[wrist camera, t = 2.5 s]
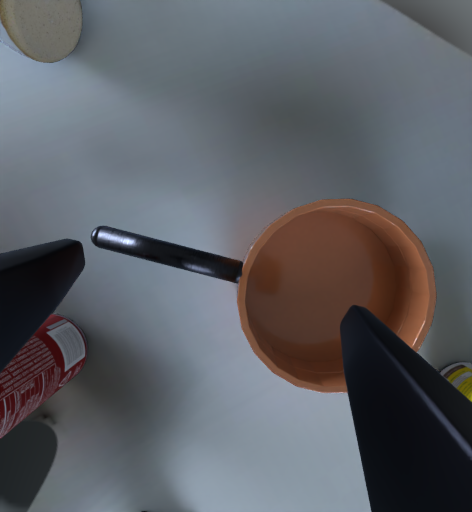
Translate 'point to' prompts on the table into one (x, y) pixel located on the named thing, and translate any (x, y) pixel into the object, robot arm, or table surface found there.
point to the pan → (331, 287)
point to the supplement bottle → (460, 377)
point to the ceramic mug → (41, 27)
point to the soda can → (40, 369)
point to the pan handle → (167, 253)
